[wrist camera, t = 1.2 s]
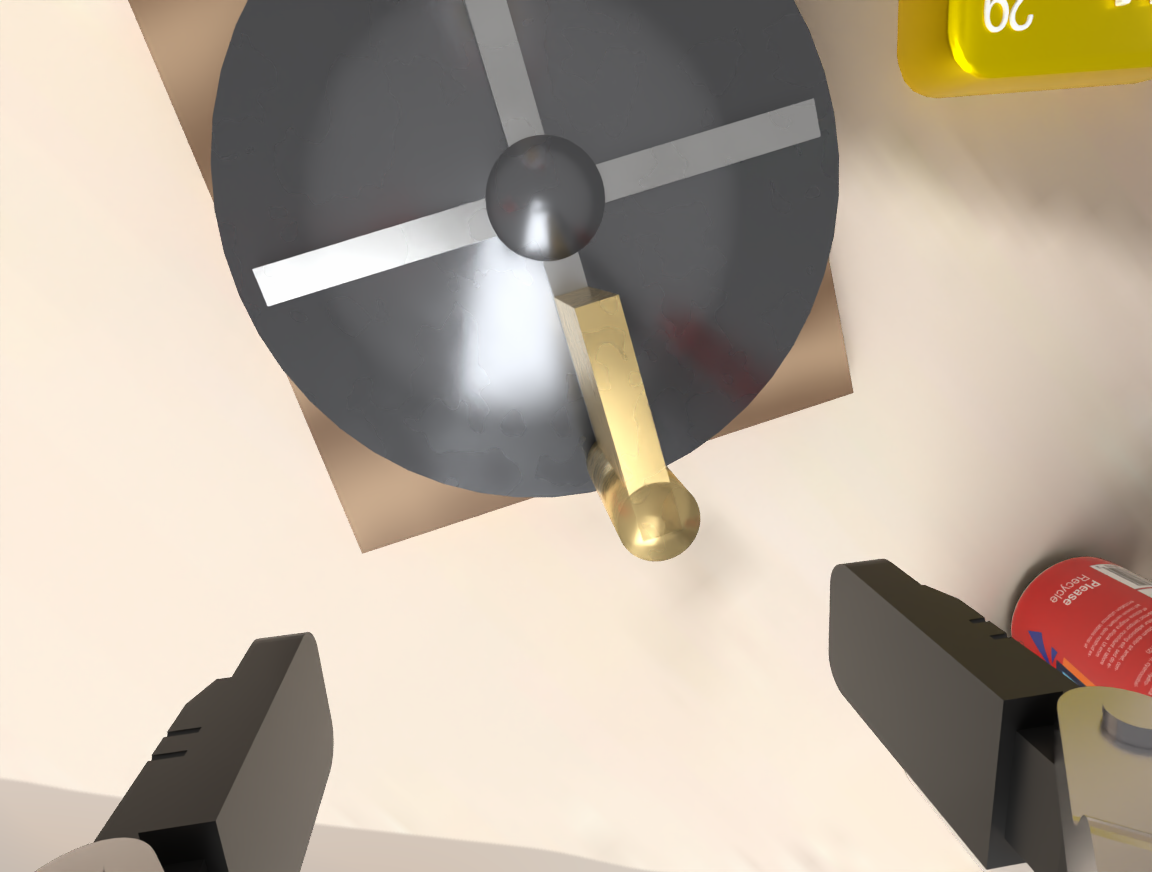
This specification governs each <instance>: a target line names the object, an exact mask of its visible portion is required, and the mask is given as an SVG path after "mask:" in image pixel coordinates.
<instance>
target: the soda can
mask: <svg viewBox="0 0 1152 872" xmlns="http://www.w3.org/2000/svg"><path fill="white" fill-rule="evenodd" d="M1011 636H1012V638H1014V639H1015V640H1016V641H1018V642H1019V643H1021V644H1022V645H1023V646H1025V647H1026V648H1028V649H1029V650H1030V651H1032V652H1033V653H1035V654H1036V655H1037V656H1039V657H1040V658H1042V659H1043V660H1044V661H1046V662H1047V663H1048V664H1050V665H1051V666H1053V667H1054V668H1055V669H1057V670H1058V671H1060V672H1061V673H1062V674H1064V675H1065V676H1067V677H1068V678H1069V679H1071V680H1072V681H1074V682H1075V683H1076V684H1078V685H1079V686H1081V687H1087V686H1102V687H1113V688H1119V689H1125V690H1129V691H1133V692H1137V693H1140V694H1144V695H1147V696H1150V697H1152V581H1150V580H1148V579H1146V578H1144V577H1142V576H1140V575H1138V574H1136V573H1134V572H1131V571H1129V570H1127V569H1125V568H1123V567H1121V566H1119V565H1117V564H1114V563H1112V562H1110V561H1107V560H1104V559H1101V558H1097V557H1089V556H1084V557H1075V558H1070V559H1067V560H1063V561H1061V562H1058V563H1056V564H1054V565H1052V566H1051V567H1049V568H1047V569H1046V570H1044V571H1043V572H1042V573H1040V574H1039V575H1038V576H1037V577H1036V578H1035V579H1034V580H1033V581H1032V582H1031V583H1030V584H1029V585H1028V586H1027V587H1026V589H1025V590H1024V592H1023V593H1022V595H1021V596H1020V598H1019V600H1018V602H1017V604H1016V607H1015V609H1014V612H1013V616H1012V622H1011Z"/></svg>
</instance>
